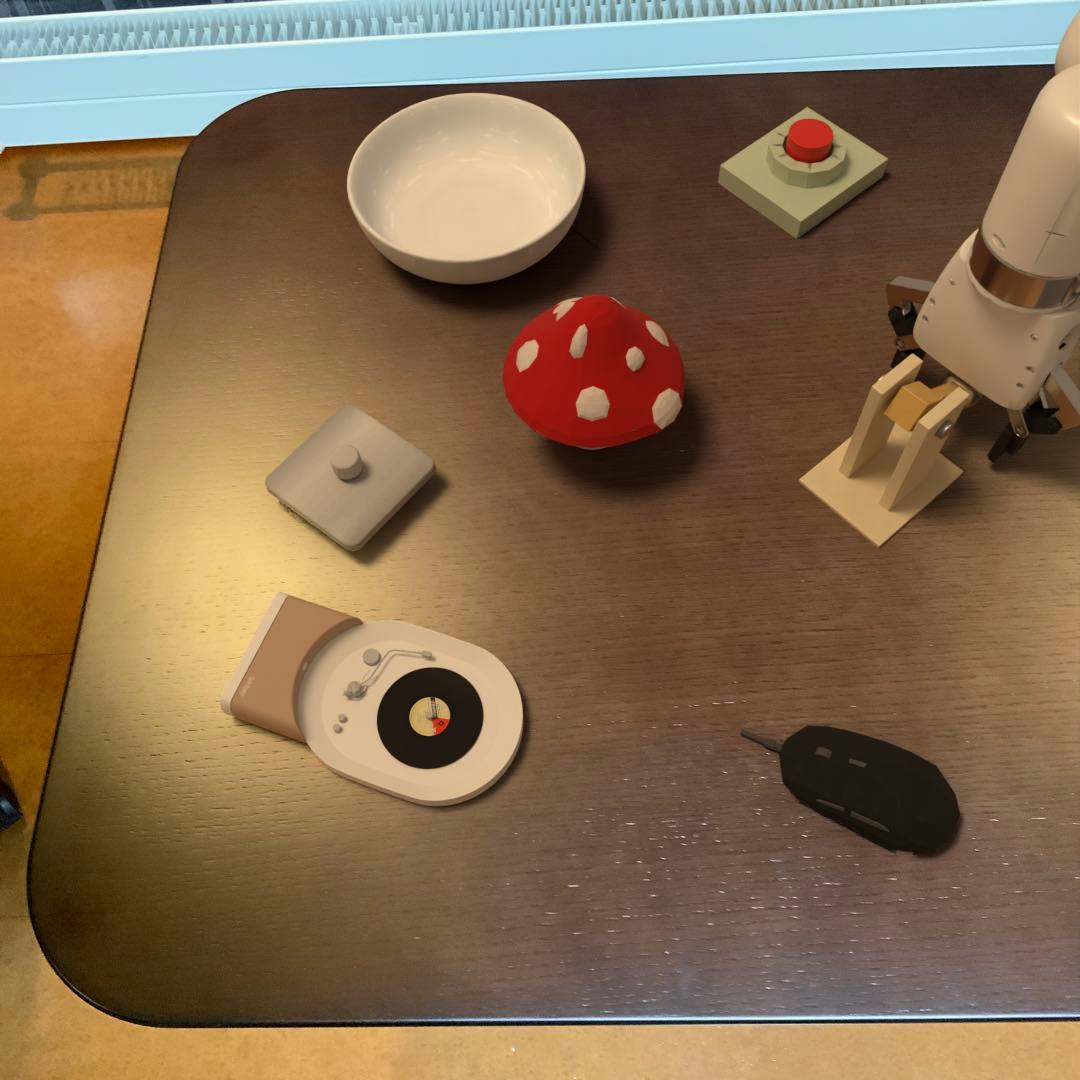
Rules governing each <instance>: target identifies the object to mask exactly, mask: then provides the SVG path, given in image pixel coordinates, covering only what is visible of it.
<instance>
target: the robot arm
mask: <svg viewBox="0 0 1080 1080" xmlns="http://www.w3.org/2000/svg"><path fill="white" fill-rule="evenodd" d="M1054 74H1055V75H1054V76H1053V77H1052V78H1051V79H1049V80H1048V81H1047V83H1046V84H1045V85H1044V86H1043V87H1042V89H1041V90H1040V91H1039V93H1038V95H1037V97H1036V98H1035V100H1034V102H1033V104H1032V107H1031V109H1030V110H1029V114H1028V115H1027V117H1026V120H1025V122H1024V125H1023V127H1022V128H1021V131H1020V134H1019V136H1018V139H1017V140H1016V143H1015V145H1014V148H1013V149H1012V151H1011V154H1010V156H1009V159H1008V161H1007V164H1006V166H1005V168H1004V169H1003V173H1002V175H1001V177H1000V179H999V182H998V184H997V185H996V188H995V191H994V192H993V195H992V198H991V199H990V201H989V204H988V206H987V209H986V211H985V213H984V215H983V218H982V221H981V222H980V225H979V227H978V228H977V229H976V230H974V231H973V232H972V233H971V234H970V235H969V236H968V237H967V238H966V239H965V240H964V242H963V243H962V244H961V245H960V246H959V248H958V249H957V250H956V252H955V253H954V255H953V256H951V259H950V260H949V261H948V263H947V264H946V266H945V267H944V269H943V270H942V272H941V273H940V274H939V276H938V278H937V279H936V282H935V281H930V280H925V279H919V278H916V277H915V278H914V277H909V276H903V275H898V276H896V277H895V278H893V279H892V280H891V281H889V282H888V283H887V284H886V285H885V293H886V299H887V305H888V306H889V308H890V309H889V310H888V311H887V317H888V319H889V321H890V324H891V326H892V329H893V331H894V334H895V336H896V337H894V338H893V345H894V347H895V348H896V350H895V352H894V356H893V358H892V360H891V363H890V368H892V369H894V368H895V367H896V366H897V365H899V364H900V363H901V362H902V361H903V360H905V359H906V358H907V357H908V356H910V355H911V354H914V355H916V356H917V357H918V358H920V359H921V360H923V361H924V359H925V356H926V354H927V355H929V356H930V357H931V359H933V360H935V361H936V362H937V363H939V364H940V365H942V366H943V367H944V368H946V369H947V370H949V371H951V372H953V373H954V374H955V375H957V376H958V377H960V378H961V379H962V380H964V381H965V382H967V383H968V384H969V385H971V386H972V387H974V388H975V389H976V390H978V391H979V392H981V393H982V394H983V396H985V397H986V398H988V399H989V400H990V401H993V403H995V404H997V405H999V406H1001V407H1003V408H1005V410H1006V414H1007V416H1008V420H1009V422H1008V424H1007V425H1006V426H1004V427H1003V429H1002V430H1001V431H1000V433H999V435H998V437H997V438H996V440H995V441H994V443H993V445H992V447H991V448H990V450H989V451H988V453H987V455H986V457H987V460H988V461H990V462H991V463H993V464H995V463H996V462H997V461H998V460H999V459H1000V458H1001V457H1003V456H1004V455H1005V454H1006V453H1007V454H1008V455H1009V456H1011V457H1013V456H1014V455H1016V453H1018V452H1019V451H1020V450H1021V449H1022V447H1023V446H1024V445H1025V444H1026V442H1027V441H1028V439H1029V438H1030V436H1031V435H1056V434H1058V432H1060V431H1063V430H1064V431H1066V430H1069V429H1072V428H1074V427H1078V426H1080V389H1079V388H1078V386H1077V385H1076V383H1075V382H1074V380H1073V379H1072V378H1071V376H1070V375H1069V373H1068V372H1067V371H1066V369H1065V367H1066V365H1067V363H1068V362H1069V359H1070V358H1071V355H1072V354H1073V351H1074V349H1075V347H1076V345H1077V343H1078V341H1079V339H1080V9H1078V11H1077V12H1076V13H1075V15H1074V17H1073V18H1072V20H1071V22H1070V23H1069V25H1068V27H1067V28H1066V30H1065V32H1064V33H1063V36H1062V37H1061V40H1060V42H1059V45H1058V48H1057V50H1056V53H1055V60H1054ZM914 303H916V304H920V305H922V306H921V308H920V310H919V312H918V311H917V309H916V307H915V304H914ZM1045 391H1046V392H1047V394H1048V395H1049V397H1050V398H1051V399H1052V400H1053V402H1054V403H1055V405H1056V406H1057V407H1050V406H1049V404H1048V400H1047V396H1046V393H1045ZM1027 405H1028V407H1026V406H1027Z"/></svg>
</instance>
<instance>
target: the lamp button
mask: <svg viewBox="0 0 1080 1080" xmlns="http://www.w3.org/2000/svg"><path fill="white" fill-rule="evenodd" d="M832 140H833V130H832V129H831V127H830V126H829V125H828V124H826V123H825V122H823V121H821V120H817V119H811V118H807V119H801V120H798V121H796V122H794V123H793V124H792V125H791V127H790V128H789V132H788V137H787V141H786V147H785V148H786V152H787V154H788V155H789V156H790V157H791V158H793V159H794V160H796V161H799V162H804V163H809V164H811V163H817V162H820V161H822V160H824V159H825V158H826V157H827V156H828V155H829V152H830V148H831V144H832Z"/></svg>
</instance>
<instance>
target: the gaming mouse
mask: <svg viewBox="0 0 1080 1080" xmlns="http://www.w3.org/2000/svg"><path fill="white" fill-rule="evenodd" d="M740 735H741V736H744V737H746V738H748V739H751V740H754V741H756V742H758V743H759V744H763V746H764V747H765V748H768V749H770V750H772V751H774V750H775V751H776V752H778V753H779V754H778V759H779V765H780V773H781V781H782V783H783V784H784V785H785V786H786V788H787V789H788V790H789V792H790V793H791V794H792V795H793V796H794V797H795V798H796V799H797V801H799V802H800V803H803V804H804V805H806V806H807V807H809V808H811V809H813V810H814V811H816V812H818V813H819V814H821V815H823V816H825V817H827V818H829V819H831V820H833V821H835V822H837V823H839V824H840V825H843V826H844V827H846V828H848V829H849V830H852V831H854V833H857V834H859V835H861V836H863V837H864V838H866V839H867V840H870V841H872V842H874V843H875V844H877V845H879V846H882V847H884V848H886V849H888V850H890V851H895V852H898V851H902V852H907V853H912V854H911V855H914V856H920V855H929V854H931V853H934V852H936V851H938V850H939V849H941V848H942V847H943V846H945V845H946V844H948V843H949V842H950V841H952V840H953V839H954V836H955V833H956V831H957V827H958V825H959V820H960V818H961V811H960V810H961V809H960V806H959V803H958V800H957V796H956V793H955V791H954V790H953V788H952V787H951V785H950V783H949V782H948V780H947V779H946V777H945V776H944V774H943V773H942V772H941V770H940V768H939V767H938V766H937V765H936V764H934V763H932V762H931V761H929V760H927V759H926V758H923V757H922V756H920V755H918V754H916V753H914V752H912V751H910V750H908V749H906V748H903V747H900V746H897V745H895V744H894V743H890V742H887V741H885V740H882V739H879V738H876V737H872V736H869V735H865V734H862V733H859V732H855V731H851V730H847V729H843V728H839V727H834V726H828V725H811V724H808V725H805V726H804V727H802V728H801V729H799V730H798V731H796V732H794V733H793V734H791V735H790V736H788V737H787V738H786V739H785V741H784V742H783V744H782V743H780V742H777V741H776V740H774V739H772V738H769V737H767V738H764V737H762V736H759V735H757V734H755V733H752V732H750V731H748V730H746V729H743V728H742V729H741V731H740Z"/></svg>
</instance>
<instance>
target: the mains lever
mask: <svg viewBox="0 0 1080 1080" xmlns="http://www.w3.org/2000/svg"><path fill="white" fill-rule="evenodd" d="M958 387H960V388H961V389H963V390H964V391H965V392H967V393H968V394H969V395H970V396H969V398H968V400H967V402H966V404H965V405H964V407H963V409H962V410H965V409H968V408H971V407H973V406H975V405H977V403H979V402H980V401H981V399H982V398H983V396H984V394H982V393H981V392H979V391H978V390H976V389H975V388H974V387H972V386H971V385H969V384H968V383H967V382H965V381H964V380H962V379H961V378H960V377H958V376H957V375H955V374H954V373H953V372H951V371H950V370H949V371H947V372H946V373H945V374H944V375H943V376H942V379H941V381H940V383H939V386H936V387H933V388H930V387H928V386H927V385H925V384H924V383H923V382H921V380H917V381H914V383H911V384H908V385H905V386H902V388H901V389H900V390H899V392H898V393H897V395H896V396H895V398H894V399H893V400H892V402H891V403H890V405H889V406H888V408H887V409H886V411H885V412H884V414H885V415H886V416H887V417H889V418H890V419H891V420H893V421H894V422H895V423H897V424H898V425H899V426H901V427H902V428H903V429H904V430H906V431H907V432H910V431H911V432H913V430H914V428H915V426H916V424H917V422H918V421H919V420H920V419H921V418H922V417H923V416H924V415H926V414H927V413H928V412H929V411H930V410H932V409H933V408H934V407H935V406H936V405H937V404H939V403H940V402H941V401H942V400H943V399H945V398H946V397H947V396H948V395H949V394H950V393H952V392H953V391H954V390H955V389H956V388H958Z"/></svg>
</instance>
